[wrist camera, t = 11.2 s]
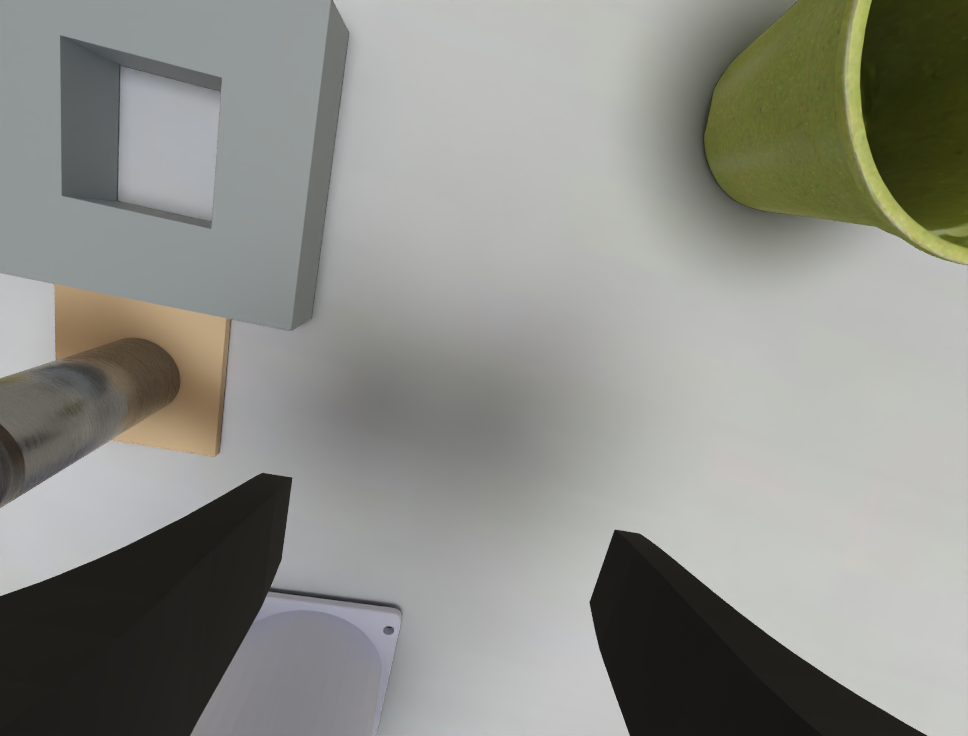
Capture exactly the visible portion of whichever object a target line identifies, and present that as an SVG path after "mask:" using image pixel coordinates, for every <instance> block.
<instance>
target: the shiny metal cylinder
mask: <svg viewBox="0 0 968 736" xmlns="http://www.w3.org/2000/svg"><path fill="white" fill-rule="evenodd" d="M180 381H181V380H180V373H179V369H178V367H177V365H176V363H175V361H174V360H173V358H172V357H171V356H170V354H169V353H168V352H167V351H166V350H164V349H163V348H162V347H160V346H159V345H157V344H156V343H153V342H151V341H149V340H146V339H141V338H123V339H120V340H117V341H114V342H111V343H107V344H104V345H101V346H98V347H95V348H92V349H89V350H86V351H83V352H80V353H77V354H74V355H71V356H68V357H65V358H62V359H58V360H55V361H52V362H49V363H46V364H43V365H40V366H37V367H34V368H31V369H28V370H25V371H22V372H19V373H16V374H13V375H9V376H6V377H3V378H0V508H1V507H3V506H4V505H6V504H8V503H9V502H11V501H12V500H14V499H16V498H17V497H19V496H21V495H22V494H24V493H25V492H27V491H29V490H30V489H32V488H34V487H35V486H37V485H39V484H40V483H42V482H43V481H45V480H47V479H48V478H50V477H52V476H53V475H55V474H56V473H58V472H60V471H61V470H63V469H65V468H66V467H68V466H69V465H71V464H73V463H74V462H76V461H78V460H79V459H81V458H82V457H84V456H86V455H87V454H89V453H91V452H92V451H94V450H96V449H97V448H99V447H100V446H102V445H104V444H105V443H107V442H109V441H110V440H112V439H113V438H115V437H117V436H118V435H120V434H122V433H123V432H125V431H126V430H128V429H130V428H131V427H133V426H135V425H136V424H138V423H139V422H141V421H143V420H144V419H146V418H148V417H149V416H151V415H153V414H154V413H156V412H157V411H159V410H161V409H162V408H164V407H166V406H167V405H169V404H170V403H171V402H172V401H173V400H174V399H175V397H176V396H177V394H178V392H179V388H180Z"/></svg>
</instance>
